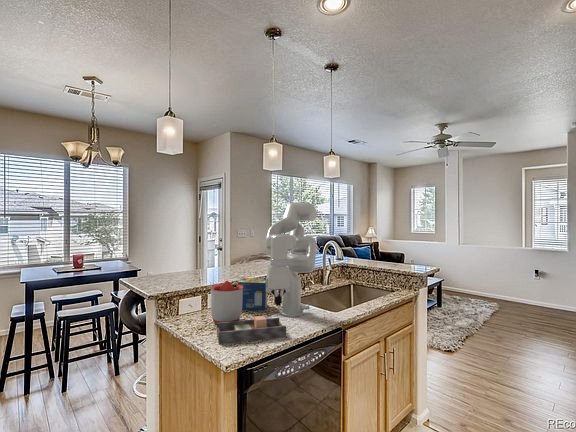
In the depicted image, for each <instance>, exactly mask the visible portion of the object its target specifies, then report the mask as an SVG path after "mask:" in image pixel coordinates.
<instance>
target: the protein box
mask: <svg viewBox="0 0 576 432" xmlns="http://www.w3.org/2000/svg"><path fill="white" fill-rule="evenodd" d="M266 279H267V278H254V277H253V278H251V277H250V278H247V277H245V278H244V277H243V278H242V277H241V278H240V279H239V280H238V281H237V285H242V286H243V300H242V311H254V312H255V311H257V312H264V311H266V310H267V307H268V292H267V291H266V289H267V287H266Z"/></svg>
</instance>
